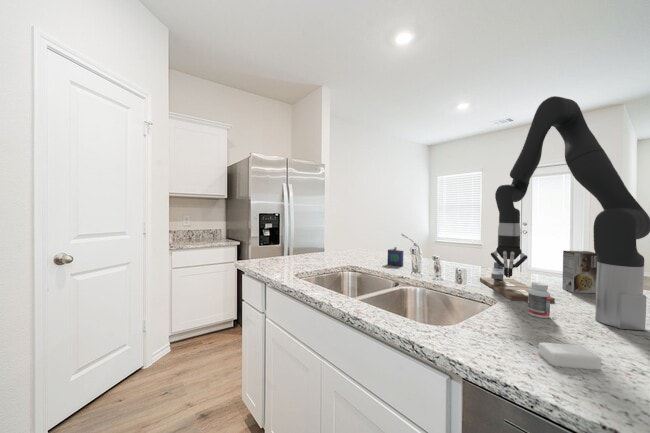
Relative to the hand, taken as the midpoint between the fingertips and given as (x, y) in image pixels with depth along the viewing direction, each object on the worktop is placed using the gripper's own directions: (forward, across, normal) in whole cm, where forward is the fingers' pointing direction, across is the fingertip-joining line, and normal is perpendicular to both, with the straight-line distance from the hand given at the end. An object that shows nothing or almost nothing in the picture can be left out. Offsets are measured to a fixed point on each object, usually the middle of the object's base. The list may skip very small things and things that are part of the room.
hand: (508, 277), depth 111 cm
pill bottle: (+6, +8, -26) cm, 28 cm away
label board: (+6, +2, +2) cm, 6 cm away
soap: (+6, +11, -56) cm, 57 cm away
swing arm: (+4, -4, +5) cm, 7 cm away
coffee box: (+6, +24, +17) cm, 30 cm away
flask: (+6, -55, +23) cm, 60 cm away
